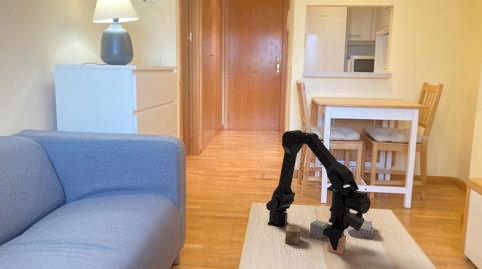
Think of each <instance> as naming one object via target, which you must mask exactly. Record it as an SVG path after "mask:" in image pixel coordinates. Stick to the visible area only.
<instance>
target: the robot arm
mask: <svg viewBox="0 0 482 269" xmlns="http://www.w3.org/2000/svg"><path fill="white" fill-rule="evenodd" d="M304 145H306V146H307V147H308V148H309V150H310V151H311V152H312V153H313V154H314V156H315V158H317V160H318V161H319V163H321V165H322V166H323V168H324V169H325V172H326V173H325V174H326V176H327V178H328V181H329V183H330V184H331V185H329V186H328V187H327V188H326V190H327V191H331V203H330V207H329V212H330V215H329V218H328V225H327V226H325V228H324V229H323V235H324V236H326V237H327V238H328V239H329V241H330V243H331V246H332V248H333V250H337V246H338V243H339V239H341V238H342V237H343V235H345V231H347V228H348V227H349V226H350V227H352V228H354V229H355V230H357V231H359V230H360V228H361V227H362V225H363V223H364V221H365V220H366V219H365V218H364V215H366V214H367V213H368V212H369V210H370V208H371V204H372V203H371V198H370V197H369V196H368V195H369V194H368V192H365V191H359V189H360V187H359V186H358V183H357V182H356V180H355V177H354V173H353V172H352V171H351V170H350V169H349V168H348V167H347V166H346V164H343V163H341V162H339V161H338V160H337V159H336V157H335V156H333V155H334V154H332V153H331V152H330V150H329V149H328V148H327V146H326V145H325V144H324V142H322V140H321V139H320V136H319V135H318V134H317V133H315V132H304V131H302V130H301V129H295V130H287V131H285V132H283V133H282V136H281V147H282V149H283V159H282V162H281V168H280V176H279V180H278V184H277V186H276V188H275V189H274V190H273V193H272V195H271V199H270V200H269V201H268V202H267V203H266V204H265V206H266V210H267V211H269V216H268V217H269V218H268V221H267V222H266V223H267V225H269V226H272V227H279V228H283V227H284V226H285V225H286V224H287V223H288V215H289V214H288V212H287V209H290V208H291V205H292V204H293V203H295V196H296V192H294V191H293V189H292V182H293V178H294V174H295V173H294V172H295V169H296V167H295V166H296V162H297V157H298V154H299V152H300V150H302V148H303V146H304ZM351 211H355V212H351ZM328 239H327V240H328Z"/></svg>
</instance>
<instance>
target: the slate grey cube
mask: <svg viewBox="0 0 482 269" xmlns="http://www.w3.org/2000/svg"><path fill="white" fill-rule="evenodd" d="M328 224H329V222H327V221H322V220H320V219H315V220H314V221H312V222H311V223H310V225H309V226H310V227H309V237H313V238H316V239H319V240H323V239H324V238H326V237H327V236H324V235H323V229H324V228H325V226H327V225H328Z"/></svg>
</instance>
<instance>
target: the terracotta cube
mask: <svg viewBox="0 0 482 269" xmlns="http://www.w3.org/2000/svg"><path fill="white" fill-rule="evenodd" d="M327 240H328V243H327V252H331V253H335V254H339V255H343V253H344V251H345V250H346V240H347V235H345V234H344V235H343V237H342V238H341V239H339V243H338V246H337V250H333V248H332V246H331V243H330V241H329V239H327Z"/></svg>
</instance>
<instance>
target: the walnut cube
mask: <svg viewBox="0 0 482 269" xmlns="http://www.w3.org/2000/svg"><path fill="white" fill-rule="evenodd" d="M284 238H285V240H284V244H286V245H287V244H288V245H296V246H299V245H300V241H301V226H298V225H297V226H295V225H286V228H285V237H284Z"/></svg>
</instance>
